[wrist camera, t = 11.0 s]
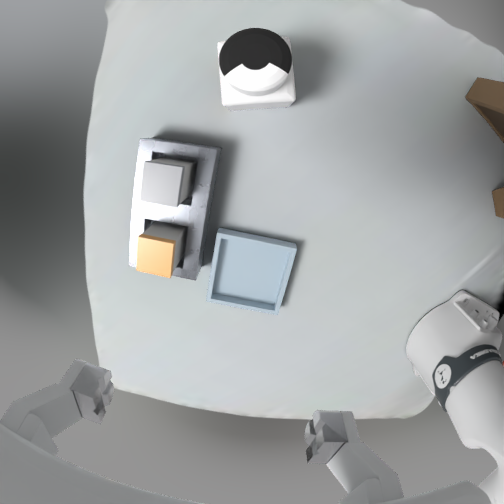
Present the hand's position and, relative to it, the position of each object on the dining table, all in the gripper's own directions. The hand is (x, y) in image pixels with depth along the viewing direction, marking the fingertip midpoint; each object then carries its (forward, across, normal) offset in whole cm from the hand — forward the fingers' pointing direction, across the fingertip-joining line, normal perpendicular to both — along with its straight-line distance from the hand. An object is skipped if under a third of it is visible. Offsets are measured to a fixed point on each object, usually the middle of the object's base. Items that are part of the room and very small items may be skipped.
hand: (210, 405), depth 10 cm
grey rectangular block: (+28, +9, -3) cm, 30 cm away
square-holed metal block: (+29, +9, +1) cm, 30 cm away
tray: (+29, -2, +8) cm, 30 cm away
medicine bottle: (+29, +2, -16) cm, 33 cm away
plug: (+28, +9, +5) cm, 30 cm away
